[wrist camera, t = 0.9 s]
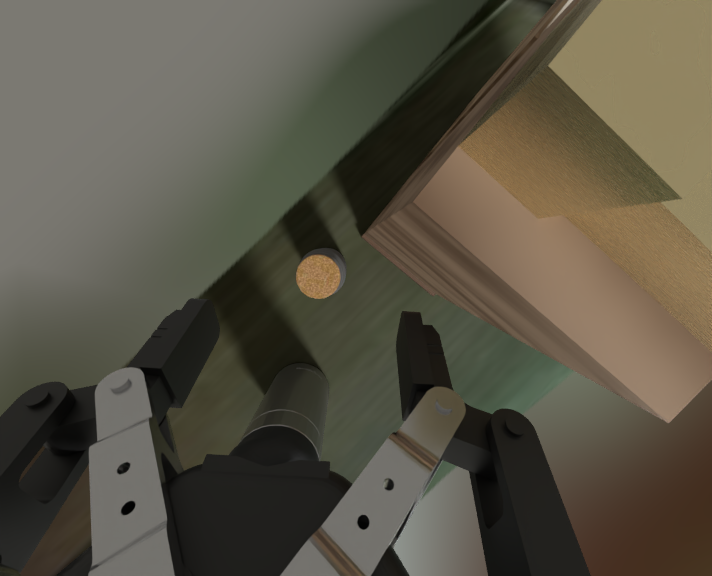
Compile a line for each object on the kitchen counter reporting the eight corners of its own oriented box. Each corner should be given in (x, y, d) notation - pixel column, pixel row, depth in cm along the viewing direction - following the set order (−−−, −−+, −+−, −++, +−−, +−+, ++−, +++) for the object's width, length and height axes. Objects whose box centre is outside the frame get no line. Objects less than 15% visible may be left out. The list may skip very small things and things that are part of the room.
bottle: (319, 240, 47) (305, 239, 32) (353, 258, 47) (355, 265, 33) (301, 274, 48) (280, 288, 33) (335, 292, 48) (330, 313, 33)
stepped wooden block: (430, 294, 48) (660, 432, 13) (361, 237, 47) (403, 212, 11) (543, 160, 46) (1213, -127, 10) (475, 95, 45) (984, -500, 9)
